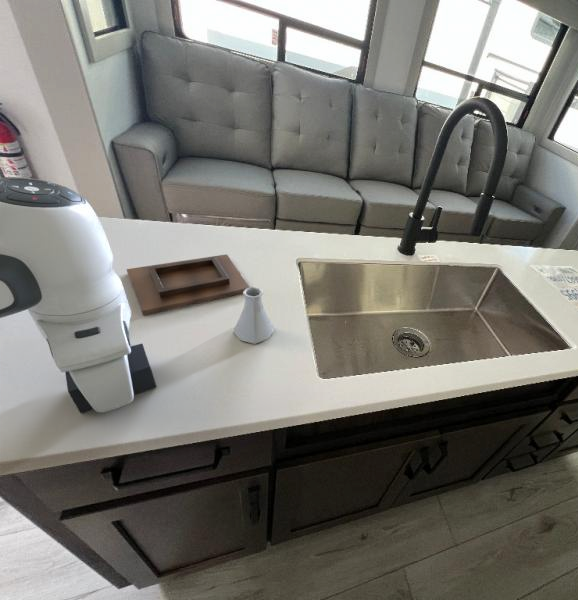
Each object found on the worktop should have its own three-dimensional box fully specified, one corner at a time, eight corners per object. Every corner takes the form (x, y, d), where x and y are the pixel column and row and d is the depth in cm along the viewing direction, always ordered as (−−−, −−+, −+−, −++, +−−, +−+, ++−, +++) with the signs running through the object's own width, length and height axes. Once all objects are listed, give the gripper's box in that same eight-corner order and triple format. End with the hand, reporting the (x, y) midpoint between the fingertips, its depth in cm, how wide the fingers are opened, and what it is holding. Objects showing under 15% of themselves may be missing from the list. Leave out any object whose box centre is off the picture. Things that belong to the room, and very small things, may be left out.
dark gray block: (80, 413, 46) (67, 392, 43) (76, 385, 49) (63, 363, 46) (156, 387, 52) (150, 366, 49) (149, 363, 55) (142, 343, 52)
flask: (281, 329, 68) (282, 291, 62) (255, 349, 62) (253, 309, 56) (254, 314, 70) (252, 275, 64) (225, 332, 64) (221, 292, 58)
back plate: (143, 315, 62) (139, 304, 61) (127, 273, 70) (124, 263, 69) (250, 291, 75) (250, 282, 73) (227, 258, 83) (226, 248, 81)
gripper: (43, 271, 45) (78, 342, 53) (56, 375, 34) (96, 443, 42) (103, 263, 49) (127, 330, 57) (131, 354, 38) (155, 420, 46)
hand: (114, 379), depth 50 cm, fingers open, 6 cm apart
